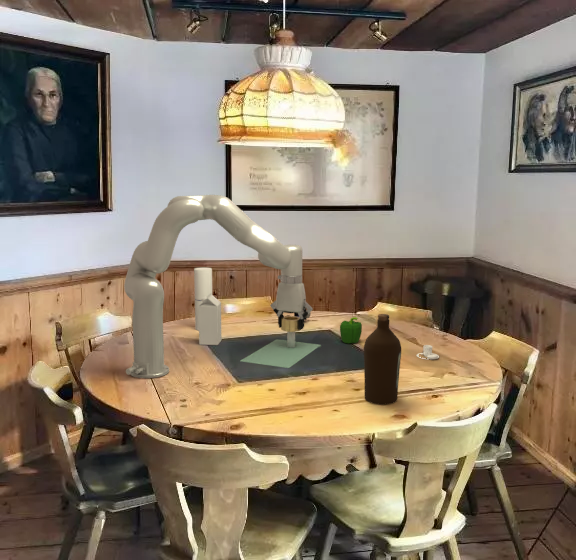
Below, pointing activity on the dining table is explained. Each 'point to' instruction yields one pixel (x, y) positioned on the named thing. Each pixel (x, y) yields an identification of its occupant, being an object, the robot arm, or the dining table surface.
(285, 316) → the figurine character
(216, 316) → the milk carton
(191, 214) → the robot arm
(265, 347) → the post board
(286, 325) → the brass ring
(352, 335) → the bell pepper
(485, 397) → the dining table surface
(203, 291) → the cylindrical container
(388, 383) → the olive oil
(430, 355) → the white charger with cable
